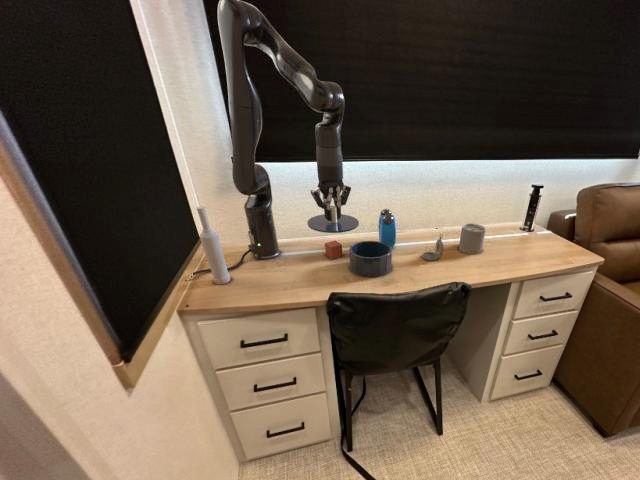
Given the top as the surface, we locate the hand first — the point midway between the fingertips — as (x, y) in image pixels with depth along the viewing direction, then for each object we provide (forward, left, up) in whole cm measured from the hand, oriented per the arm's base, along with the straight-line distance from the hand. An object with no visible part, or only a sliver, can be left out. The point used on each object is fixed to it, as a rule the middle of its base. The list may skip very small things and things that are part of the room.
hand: (333, 219), depth 103 cm
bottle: (-33, +19, -21) cm, 44 cm away
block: (+8, +15, -21) cm, 26 cm away
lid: (0, 0, -1) cm, 1 cm away
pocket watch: (+40, -10, -21) cm, 46 cm away
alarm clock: (+32, +11, -21) cm, 39 cm away
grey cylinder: (+61, -12, -21) cm, 65 cm away
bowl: (+14, -2, -21) cm, 25 cm away
